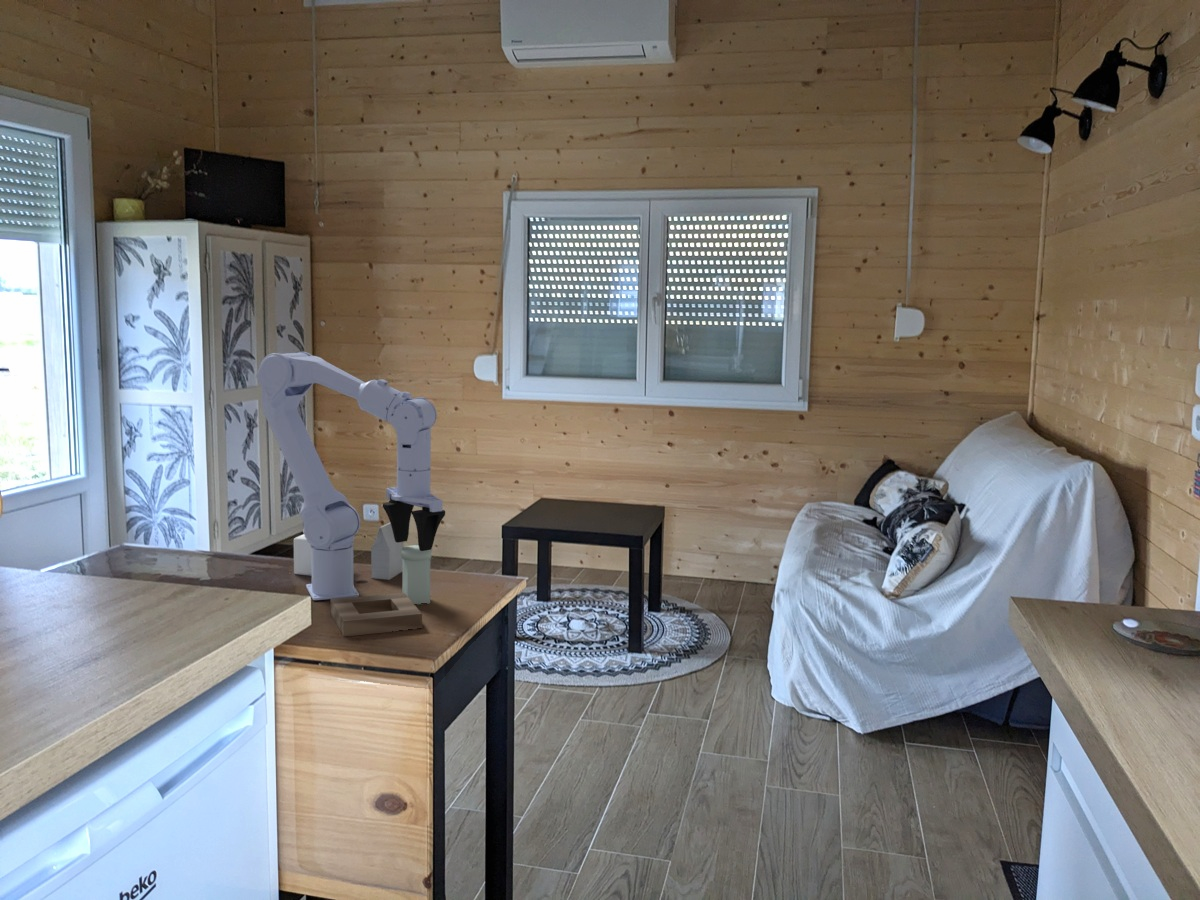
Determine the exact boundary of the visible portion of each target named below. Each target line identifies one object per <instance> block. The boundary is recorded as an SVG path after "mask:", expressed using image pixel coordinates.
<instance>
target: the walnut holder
mask: <svg viewBox="0 0 1200 900" xmlns="http://www.w3.org/2000/svg"><path fill="white" fill-rule="evenodd" d="M330 615H331V617H332V619H333V621H334V622H335V624H336V626H337V627H338V629H339V631H340V633H341V635H342V637H351V636H352V637H354V636H361V635H363V636H364V635H372V634H382V633H392V631H393V632H400V631H399V630H403V631H409V630H408V629H413V630H418V629H417V628H422V629H423V612H421V611H420V609H419V608H418V607H417V606H416V605H414V604H413V602H412V601H411V600H410V599H409V598H408V596H407V595H406V594H405V593H402V592H400V593H399V592H397V593H386V594H376V595H365V596H358V597H348V598H337V599H330Z"/></svg>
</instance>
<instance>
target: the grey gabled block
mask: <svg viewBox="0 0 1200 900" xmlns="http://www.w3.org/2000/svg"><path fill="white" fill-rule="evenodd" d="M404 543H405V541H404V542H398V543H397V542H395V539H394V535H393V530H392V526H391V523H390V522H388V523H385V524H384V525H382V526H379V527H378V532H377V535H376V537H375V539H374V541H373V544H372V545H371V548H370V549H371V551H370V552H371V554H370V556H371V557H370V558H371V562H370V563H371V566H370V567H371V568H370V569H371V570H370V571H371V572H370V574H371V576H370V578H371V579H376V580H377V579H378V580H391V579H393V578H394V577H396V576H398V575H399V574H401V573H402V572H403V569H401V568H403V559H402V558H401V549H402V548H403V547H405V546H404V545H405V544H404Z"/></svg>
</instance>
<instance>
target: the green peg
mask: <svg viewBox="0 0 1200 900" xmlns="http://www.w3.org/2000/svg"><path fill="white" fill-rule="evenodd" d="M401 558H402V559H403V571H402V572H401V573H402V581H401V582H402V588H401V589H402V592H401V593H405V594H406V595H407V596H408V598H409V599H410V600H411V601H412V602H413V604H417V605H422V604H421V603H427V604H431V558H432V549H431V550H426V551H420V550H419V545H418V544H417V545H414V544H413V545H407V546H406V545H405V546H404V547H403V548H402V549H401Z"/></svg>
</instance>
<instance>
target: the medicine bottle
mask: <svg viewBox="0 0 1200 900" xmlns="http://www.w3.org/2000/svg"><path fill="white" fill-rule="evenodd" d="M302 533H303V534H301V535H298V536H296V537H294V538H293V573H294V574H295V575H300V576H310V577H312V571H311V554H312V548H311V546H310V543H309V542H308V541H307V539H306V538H305V535H304V530H303V529H302Z"/></svg>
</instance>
